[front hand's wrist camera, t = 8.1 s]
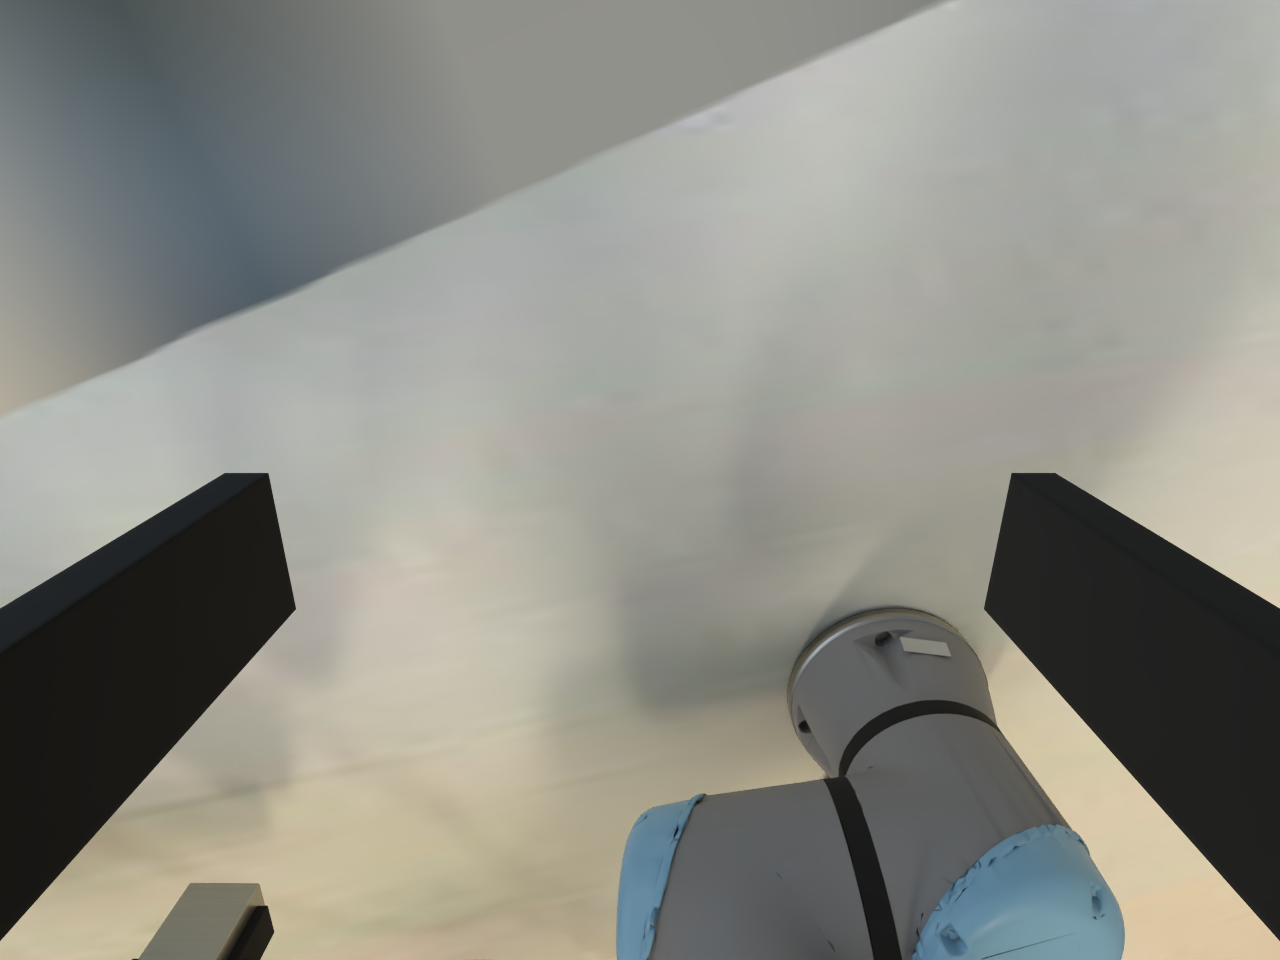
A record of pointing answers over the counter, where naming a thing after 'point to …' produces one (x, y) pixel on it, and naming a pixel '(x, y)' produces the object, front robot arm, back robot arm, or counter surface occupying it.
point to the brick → (205, 922)
